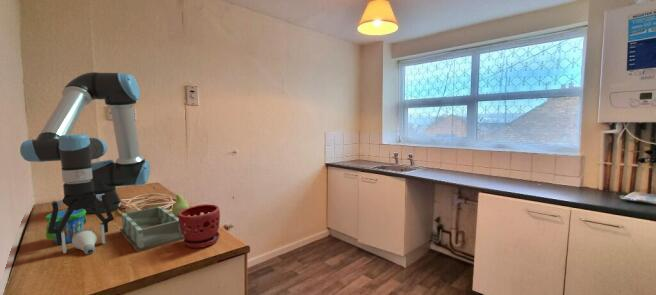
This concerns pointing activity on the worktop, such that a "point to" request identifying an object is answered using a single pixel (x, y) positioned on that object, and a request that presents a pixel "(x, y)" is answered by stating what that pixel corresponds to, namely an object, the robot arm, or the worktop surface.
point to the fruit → (179, 204)
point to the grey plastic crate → (150, 228)
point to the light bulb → (85, 241)
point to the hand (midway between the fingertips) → (84, 246)
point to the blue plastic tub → (68, 224)
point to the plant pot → (200, 225)
